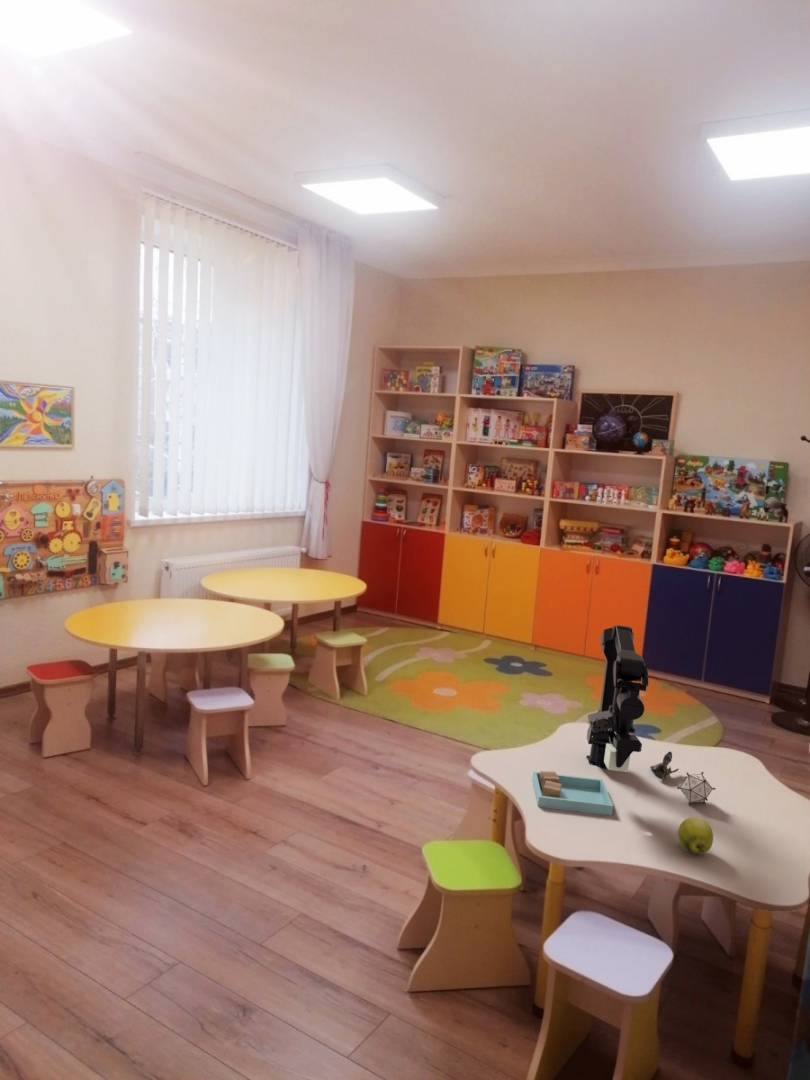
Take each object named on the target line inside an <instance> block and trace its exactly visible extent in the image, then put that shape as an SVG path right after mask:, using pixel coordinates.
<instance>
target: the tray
mask: <svg viewBox="0 0 810 1080" xmlns="http://www.w3.org/2000/svg"><path fill="white" fill-rule="evenodd" d="M556 774H557V776H558V777H559V784H562V785H561V792H560V798H555V797H547V796H543V792H542V790H541V788H540V786H539V779H540V771H532V778H531V783H532V786H533V791H534V795H535V801H536V803H537V807H538V808H539V807H540V808H548V809H554V810H555V809H556V810H563V811H573V812H582V813H589V814H596V815H597V814H598V815H604V816H613V810H614V804H613V802H612V799H611V797H610V795H609V792H608V790H607V787H606V785H605V782H604V781H603V779H601V778H600V779H599V778H592V777H584V776H583V777H582V776H575V775H566V774H559V773H556Z"/></svg>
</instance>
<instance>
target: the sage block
mask: <svg viewBox="0 0 810 1080" xmlns="http://www.w3.org/2000/svg"><path fill="white" fill-rule="evenodd" d="M630 757H631V755H630V756H629V757H628V758H627V760H626V761H625V762H624V764H623V765H622V766H621V767H620V768H619V767H616V748H615V747H614V746H613V744H607V743H606V750H605V757H604V763H605V765H606V767H607V768H606V769H607V770H608V771H616V772H625V773H628V772H629V764H630Z"/></svg>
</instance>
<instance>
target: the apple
mask: <svg viewBox="0 0 810 1080" xmlns="http://www.w3.org/2000/svg"><path fill="white" fill-rule="evenodd" d="M677 837H678V838H677V839H678V841H679V844H680V846H681V847H682V848H683V849H684V850H685V851H687V852H688V853H690V854H692V855H702V854H705V853H707V852H708V851H710V849H711V848H712V846H713V844H714V832H713V828H712V827H711V826H710V824H709V822H708V821H706V820H705V819H703V818H700V817H694V816H693V817H689V818H686V819H684V820H683V821H682V822H681V824H680V825H679V827H678V830H677Z"/></svg>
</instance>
